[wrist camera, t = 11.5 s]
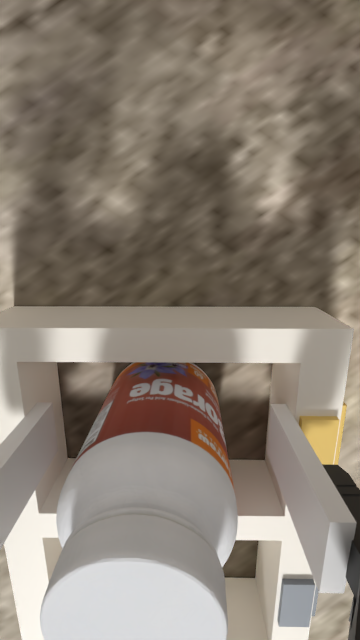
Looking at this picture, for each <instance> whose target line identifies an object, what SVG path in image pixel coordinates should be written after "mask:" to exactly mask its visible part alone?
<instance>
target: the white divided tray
mask: <svg viewBox="0 0 360 640" xmlns="http://www.w3.org/2000/svg"><path fill="white" fill-rule="evenodd" d="M353 332H354V329H353V328H351V327H350V326H348V325H346V324H344V323H343V322H341V321H339V320H337V319H336V318H334V317H332V316H330V315H329V314H327V313H325V312H323V311H322V310H320V309H318V308H316V307H128V306H13V307H11V308H8V309H6V310H4V311H1V312H0V444H1V443H2V442H3V441H4V440H5V439H6V438H7V436H8V435H9V434H10V433H11V432H12V431H13V430H14V428H15V427H16V426H17V425H18V424H19V423H20V422H21V420H22V419H23V418H24V417H25V416H26V415H27V414H28V413H29V411H30V410H31V409H32V408H33V407H34V406H35V405H36V403H37V402H47V403H53V411H54V419H55V428H56V436H57V445H58V451H57V453H56V455H55V457H54V458H53V460H52V462H51V463H50V465H49V467H48V469H47V470H46V472H45V474H44V475H43V477H42V479H41V481H40V482H39V484H38V486H37V487H36V489H35V491H34V493H33V494H32V496H31V498H30V499H29V501H28V503H27V505H26V506H25V508H24V510H23V511H22V513H21V515H20V517H19V518H18V520H17V522H16V523H15V525H14V527H13V529H12V530H11V532H10V534H9V535H8V537H7V539H6V541H5V542H4V546H5V551H6V557H7V562H8V567H9V573H10V578H11V583H12V589H13V594H14V599H15V605H16V610H17V615H18V621H19V626H20V631H21V637H22V640H44V637H43V634H42V631H41V625H40V611H41V605H42V601H43V598H44V595H45V592H46V590H47V587H48V584H49V581H50V579H51V576H52V573H53V571H54V568H55V566H56V564H57V561H58V559H59V556H60V554H61V551H62V547H61V544H60V541H59V537H58V531H57V524H56V516H57V506H58V501H59V496H60V493H61V490H62V488H63V485H64V483H65V481H66V479H67V477H68V474H69V472H70V470H71V468H72V466H73V464H74V462H75V460H76V458H68V457H67V448H66V439H65V430H64V421H63V412H62V403H61V394H60V385H59V376H58V366H57V362H172V363H273V364H272V376H271V389H270V401H269V414H268V426H267V439H266V451H265V460H229V464H230V469H231V474H232V480H233V485H234V491H235V497H236V505H237V512H238V526H237V535H236V540H258V550H257V563H256V575H255V578H225V589H226V603H227V615H228V633H227V638H226V640H308V636H309V629H310V622H311V616H315V611H316V604H317V598H318V588H317V586H316V583H315V580H314V578H313V575H312V572H311V570H310V567H309V564H308V562H307V559H306V556H305V553H304V551H303V548H302V545H301V543H300V540H299V537H298V535H297V532H296V529H295V527H294V524H293V521H292V519H291V516H290V513H289V511H288V508H287V505H286V503H285V500H284V497H283V495H282V492H281V489H280V487H279V484H278V481H277V479H276V476H275V473H274V471H273V468H272V465H271V463H270V460H269V457H268V454H267V442H268V429H269V417H270V405H271V404H286V405H287V406H288V408H289V410H290V412H291V413H292V415H293V417H294V418H295V420H296V421H297V423H298V425H299V426H300V428H301V430H302V431H303V433H304V435H305V436H306V438H307V440H308V441H309V443H310V445H311V447H312V448H313V450H314V452H315V453H316V455H317V457H318V458H319V460H320V462H321V463H322V464H325V465H338V460H339V453H340V447H341V440H342V433H343V427H344V420H345V414H346V407H347V405H346V404H345V403H344V402H343V400H344V393H345V386H346V380H347V373H348V366H349V359H350V353H351V346H352V339H353Z"/></svg>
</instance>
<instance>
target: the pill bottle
mask: <svg viewBox="0 0 360 640" xmlns="http://www.w3.org/2000/svg"><path fill="white" fill-rule="evenodd" d="M56 524H57V531H58V537H59V541H60V544H61V547H62V551H61V554H60V556H59V559H58V561H57V564H56V566H55V568H54V571H53V573H52V576H51V579H50V581H49V584H48V587H47V590H46V592H45V595H44V598H43V601H42V605H41V611H40V625H41V631H42V634H43V637H44V640H226V638H227V633H228V615H227V603H226V589H225V577H224V572H223V569H222V567H223V566H224V564H225V563H226V561H227V559H228V558H229V556H230V553H231V551H232V549H233V546H234V543H235V540H236V535H237V526H238V512H237V505H236V497H235V491H234V485H233V480H232V474H231V469H230V464H229V459H228V453H227V448H226V442H225V437H224V431H223V425H222V420H221V414H220V408H219V402H218V398H217V394H216V391H215V388H214V386H213V384H212V382H211V380H210V379H209V377H208V376H207V375H206V374H205V372H204V371H203V370H202V369H200V368H199V367H198V366H196V365H195V364H193V363H172V362H133V363H132V364H130V365H129V366H127V367H126V368H125V369H124V370H123V371H122V372H121V373H120V374H119V376H118V377H117V379H116V380H115V382H114V384H113V385H112V387H111V389H110V391H109V393H108V395H107V397H106V399H105V401H104V403H103V406H102V408H101V410H100V412H99V413H98V416H97V417H96V420H95V421H94V424H93V426H92V428H91V430H90V432H89V434H88V436H87V438H86V440H85V442H84V444H83V446H82V448H81V450H80V452H79V454H78V456H77V458H76V460H75V462H74V464H73V466H72V468H71V470H70V472H69V474H68V477H67V479H66V481H65V483H64V485H63V488H62V490H61V493H60V496H59V501H58V506H57V516H56Z"/></svg>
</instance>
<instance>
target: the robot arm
mask: <svg viewBox="0 0 360 640" xmlns="http://www.w3.org/2000/svg"><path fill="white" fill-rule="evenodd" d="M57 451H58V445H57V436H56V428H55V419H54V411H53V403H47V402H37V403H36V405H35V406H34V407H33V408H32V409H31V410H30V411H29V413H28V414H27V415H26V416H25V417H24V418H23V419H22V420H21V422H20V423H19V424H18V425H17V426H16V427H15V428H14V430H13V431H12V432H11V433H10V434H9V435H8V436H7V438H6V439H5V440H4V441H3V442H2V443H1V444H0V549H1V547H2V546H3V544H4V542H5V541H6V539H7V537H8V535H9V534H10V532H11V530H12V529H13V527H14V525H15V523H16V522H17V520H18V518H19V517H20V515H21V513H22V511H23V510H24V508H25V506H26V505H27V503H28V501H29V499H30V498H31V496H32V494H33V493H34V491H35V489H36V487H37V486H38V484H39V482H40V481H41V479H42V477H43V475H44V474H45V472H46V470H47V469H48V467H49V465H50V463H51V462H52V460H53V458H54V457H55V455H56V453H57ZM267 454H268V457H269V460H270V463H271V465H272V468H273V471H274V473H275V476H276V479H277V481H278V484H279V487H280V489H281V492H282V495H283V497H284V500H285V503H286V505H287V508H288V511H289V513H290V516H291V519H292V521H293V524H294V527H295V529H296V532H297V535H298V537H299V540H300V543H301V545H302V548H303V551H304V553H305V556H306V559H307V562H308V564H309V567H310V570H311V572H312V575H313V578H314V580H315V583H316V586H317V588H318V591H319V593H344V590H345V585H346V579H347V581H348V583H349V585H350V587H351V590H352V592H353V594H354V597H353V602H352V607H351V613H350V618H349V621H350V628H349V637H348V640H360V490H359V488H358V487H356V484H355V482H354V481H353V480H352V478H351V477H350V475H349V474H348V473H347V472H346V471H344V470H343V469H342V468H341V467H339V466H338V465H325V464H322V463H321V462H320V460H319V458H318V457H317V455H316V453H315V452H314V450H313V448H312V447H311V445H310V443H309V441H308V440H307V438H306V436H305V435H304V433H303V431H302V430H301V428H300V426H299V425H298V423H297V421H296V420H295V418H294V417H293V415H292V413H291V412H290V410H289V408H288V406H287V405H286V404H271V405H270V417H269V429H268V442H267Z"/></svg>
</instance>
